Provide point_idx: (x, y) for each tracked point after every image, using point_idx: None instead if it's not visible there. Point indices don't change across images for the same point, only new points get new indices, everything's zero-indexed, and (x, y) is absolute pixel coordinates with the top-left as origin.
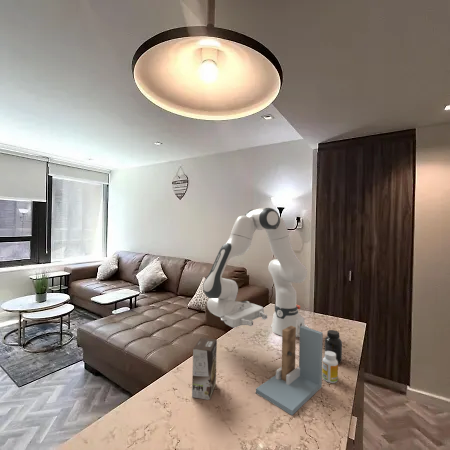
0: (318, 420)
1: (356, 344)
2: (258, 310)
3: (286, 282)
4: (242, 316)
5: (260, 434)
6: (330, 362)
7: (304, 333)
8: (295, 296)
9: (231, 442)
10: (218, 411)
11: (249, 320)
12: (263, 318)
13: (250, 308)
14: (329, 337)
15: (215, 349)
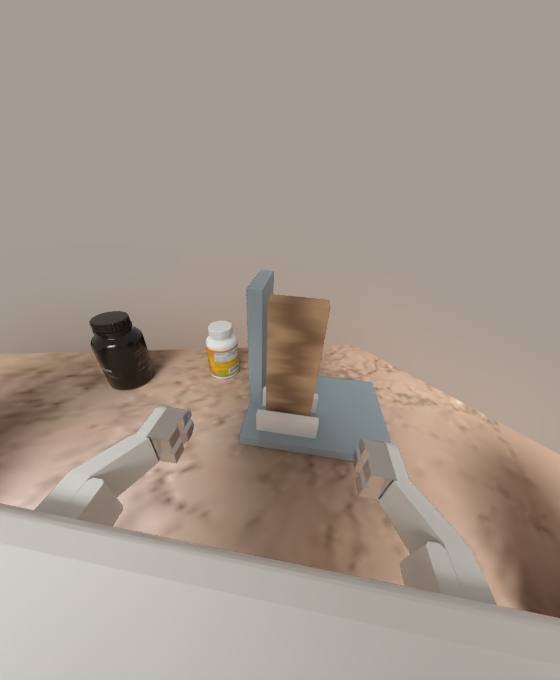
0: (342, 364)
1: (29, 356)
2: (55, 515)
3: None
4: (455, 601)
5: (449, 408)
6: (234, 335)
7: (265, 298)
8: None
9: (516, 435)
10: (540, 512)
11: (387, 467)
12: (183, 443)
13: None
14: (122, 333)
15: None
